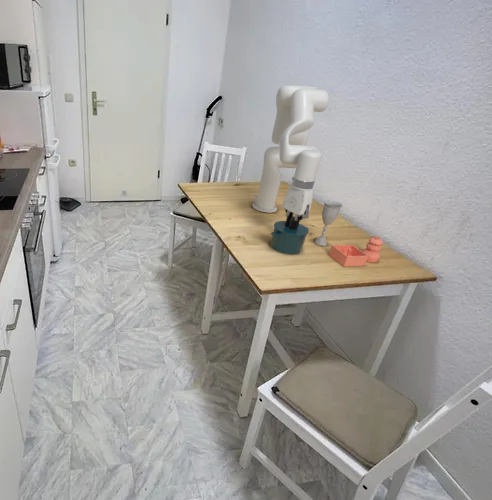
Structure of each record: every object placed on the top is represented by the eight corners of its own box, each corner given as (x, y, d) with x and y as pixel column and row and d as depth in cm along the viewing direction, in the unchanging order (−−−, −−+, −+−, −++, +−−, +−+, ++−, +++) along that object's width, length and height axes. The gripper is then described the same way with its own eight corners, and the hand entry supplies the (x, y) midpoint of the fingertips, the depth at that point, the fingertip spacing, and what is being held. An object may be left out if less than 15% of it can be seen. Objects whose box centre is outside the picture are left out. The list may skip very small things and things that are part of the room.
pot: (259, 243, 152) (263, 225, 148) (290, 237, 159) (295, 220, 155) (280, 257, 142) (285, 238, 138) (312, 250, 149) (318, 231, 145)
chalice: (308, 238, 159) (320, 200, 150) (323, 238, 159) (336, 200, 151) (317, 246, 152) (330, 206, 144) (332, 246, 153) (346, 207, 144)
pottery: (343, 266, 138) (352, 243, 134) (328, 254, 146) (336, 232, 142) (384, 264, 141) (394, 242, 137) (368, 252, 149) (376, 231, 145)
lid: (266, 225, 149) (269, 213, 147) (290, 221, 154) (293, 209, 152) (290, 239, 139) (293, 226, 136) (315, 234, 144) (319, 221, 141)
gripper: (280, 178, 142) (270, 221, 151) (312, 191, 129) (299, 237, 138) (294, 176, 145) (283, 218, 154) (327, 189, 132) (313, 234, 141)
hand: (291, 227), depth 146 cm, fingers closed on lid, 2 cm apart
